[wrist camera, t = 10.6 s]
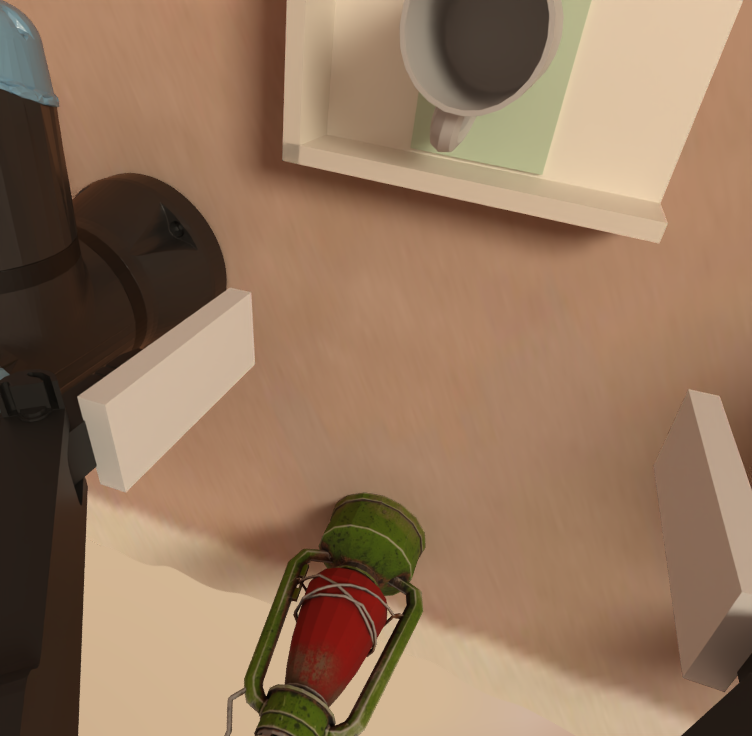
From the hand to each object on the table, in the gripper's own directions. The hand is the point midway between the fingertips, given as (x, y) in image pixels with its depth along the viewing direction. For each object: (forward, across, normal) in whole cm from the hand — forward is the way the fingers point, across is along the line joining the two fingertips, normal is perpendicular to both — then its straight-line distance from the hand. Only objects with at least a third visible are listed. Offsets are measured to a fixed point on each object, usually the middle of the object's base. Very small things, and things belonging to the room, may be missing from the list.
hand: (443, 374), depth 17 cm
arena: (+26, -3, +7) cm, 27 cm away
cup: (+25, -4, +7) cm, 26 cm away
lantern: (+26, -8, -38) cm, 46 cm away
